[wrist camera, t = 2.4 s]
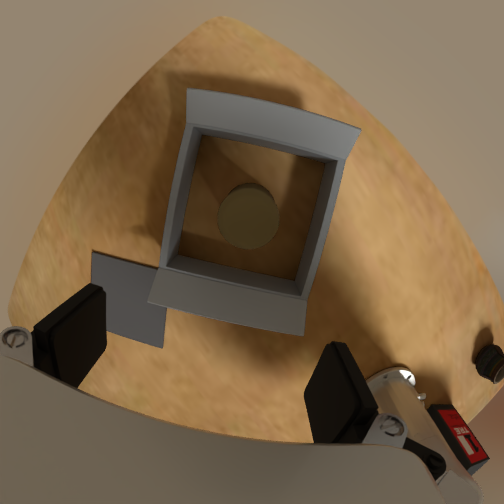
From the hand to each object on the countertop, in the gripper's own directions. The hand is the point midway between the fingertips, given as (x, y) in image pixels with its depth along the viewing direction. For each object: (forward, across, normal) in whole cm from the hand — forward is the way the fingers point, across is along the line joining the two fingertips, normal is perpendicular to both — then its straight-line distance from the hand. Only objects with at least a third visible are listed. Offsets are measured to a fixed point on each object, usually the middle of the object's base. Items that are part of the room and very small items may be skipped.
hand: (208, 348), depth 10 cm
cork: (+24, -1, -3) cm, 24 cm away
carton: (+23, -1, -3) cm, 23 cm away
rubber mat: (+23, +13, +13) cm, 30 cm away
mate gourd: (+23, -56, +12) cm, 62 cm away
